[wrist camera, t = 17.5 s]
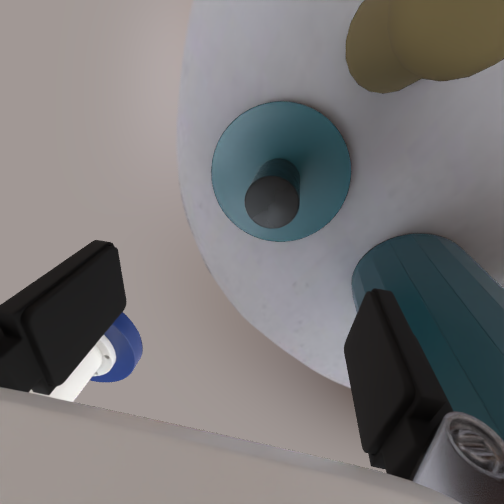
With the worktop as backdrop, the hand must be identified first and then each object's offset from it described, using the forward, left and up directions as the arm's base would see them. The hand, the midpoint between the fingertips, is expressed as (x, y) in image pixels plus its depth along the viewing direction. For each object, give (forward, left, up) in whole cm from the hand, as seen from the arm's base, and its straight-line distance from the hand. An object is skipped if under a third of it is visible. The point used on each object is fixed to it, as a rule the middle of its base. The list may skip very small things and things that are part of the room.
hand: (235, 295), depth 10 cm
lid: (0, +1, -15) cm, 15 cm away
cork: (+6, +10, -16) cm, 20 cm away
